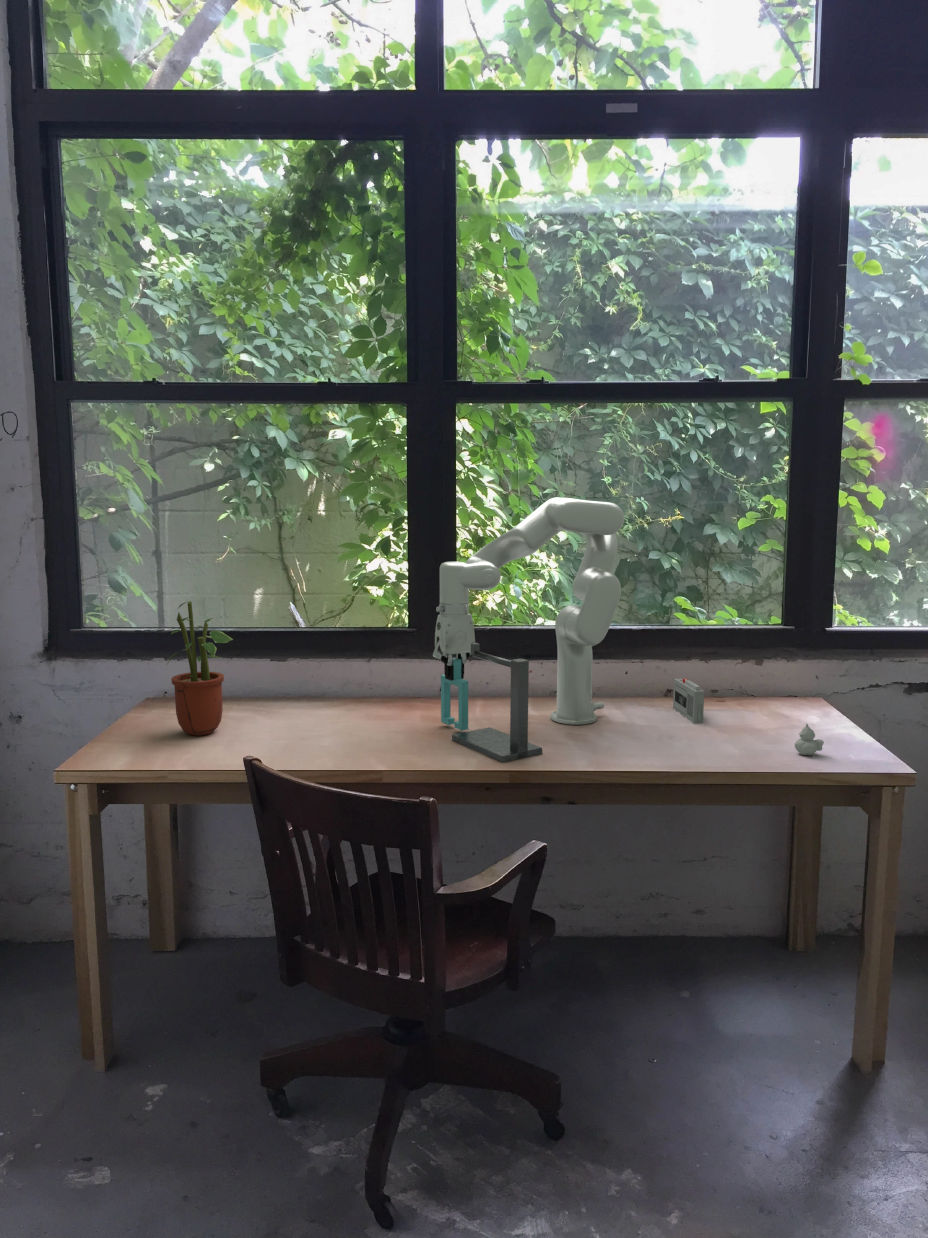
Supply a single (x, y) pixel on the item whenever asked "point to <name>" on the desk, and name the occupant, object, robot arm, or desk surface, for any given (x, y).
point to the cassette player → (688, 700)
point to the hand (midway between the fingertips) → (454, 678)
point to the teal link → (462, 698)
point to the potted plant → (199, 683)
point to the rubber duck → (808, 742)
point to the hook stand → (517, 742)
